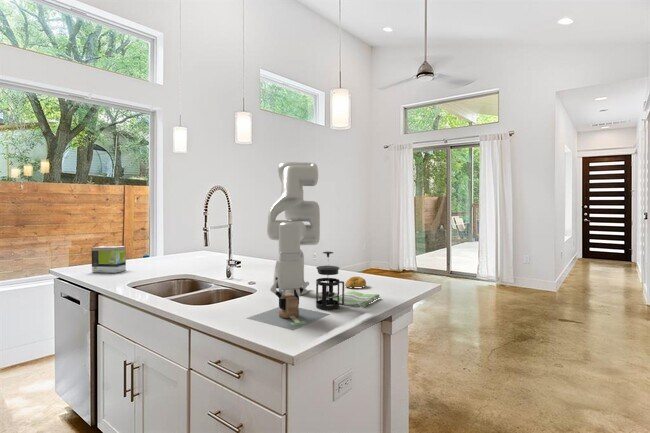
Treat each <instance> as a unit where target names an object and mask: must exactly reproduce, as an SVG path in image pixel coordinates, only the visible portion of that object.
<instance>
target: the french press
mask: <svg viewBox="0 0 650 433" xmlns="http://www.w3.org/2000/svg"><path fill="white" fill-rule="evenodd" d="M322 254H324V255H326V258H327V261H329V258H330V254H331V255H332V254H334V252H332V251H323V252H322ZM340 269H341V268H340V267H339V266H337V265H320V266H319V265H318V266H316V270H317V273H318V274H319V275H322V276H326V277H320V278H317V279H316V280H315V282H316V285H315V289H316V290H315V292H316V295H315V298H316V299H315V307H316V309H317V310H321V311H335V310H338V309H339V308H340V306H344V305H343V304H344V293H345V281H342V280H340V279H339V278H335V277H329V276H337V275H338V274H339V270H340ZM340 284H342V289H341V290H342V291H341V293H342V294H341V295H342V303H339V296H340ZM319 286H321V292H319ZM335 286H337V292H335V291H334V287H335ZM336 297H338V301H336V300H333V298H336ZM319 298H320V299H319Z"/></svg>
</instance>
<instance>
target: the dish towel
mask: <svg viewBox="0 0 650 433" xmlns="http://www.w3.org/2000/svg"><path fill="white" fill-rule="evenodd" d="M378 298H381V297H380V294H376V293H374V294H369V293H362V292H359V291H354V290H353V291H352V290H351V291H347V292H344V304H343V305H342V306H347V307H355V308H362V309H364V308H366V307H367V305H368V304H369V303H371V302H373V301H374V300H376V299H378ZM333 300H336V301H338V297H336V298H333ZM339 303H342V294H339ZM365 306H366V307H365ZM368 306H369V305H368ZM363 307H364V308H363Z"/></svg>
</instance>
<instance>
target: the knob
mask: <svg viewBox="0 0 650 433" xmlns="http://www.w3.org/2000/svg"><path fill="white" fill-rule="evenodd" d="M284 299H285V300H286V309H285V310H282V309H279V316H280V317H282V318H291V319H292V320H293V321H294V322H295V323H300V321H299V320H298V319H297V318H296V317H298V316H299V309H298V308H299V307H298V298H297V297H295V296H294V295H293V294H291V293H290V292H286V293H285V296H284Z"/></svg>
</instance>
